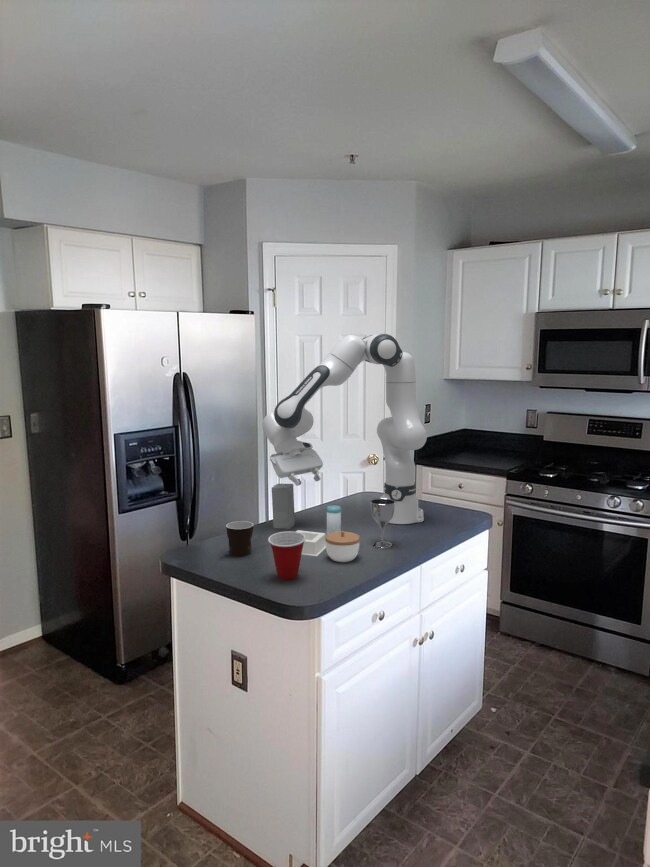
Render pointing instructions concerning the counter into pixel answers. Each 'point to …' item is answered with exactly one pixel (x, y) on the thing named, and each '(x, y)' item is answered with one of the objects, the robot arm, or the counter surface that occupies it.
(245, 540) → the coffee mug
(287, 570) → the plastic cup
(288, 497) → the skincare box
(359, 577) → the counter surface
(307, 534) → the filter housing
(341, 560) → the lidded jar
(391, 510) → the wine glass
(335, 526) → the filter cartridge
